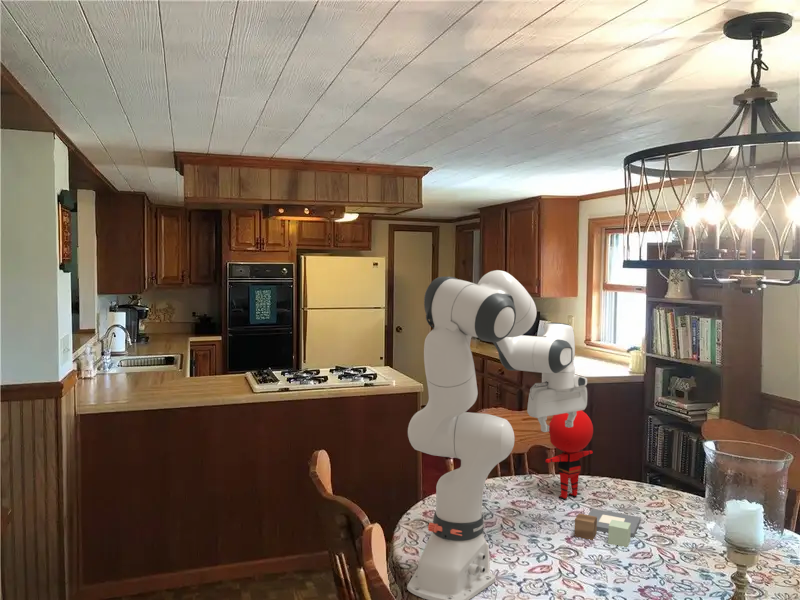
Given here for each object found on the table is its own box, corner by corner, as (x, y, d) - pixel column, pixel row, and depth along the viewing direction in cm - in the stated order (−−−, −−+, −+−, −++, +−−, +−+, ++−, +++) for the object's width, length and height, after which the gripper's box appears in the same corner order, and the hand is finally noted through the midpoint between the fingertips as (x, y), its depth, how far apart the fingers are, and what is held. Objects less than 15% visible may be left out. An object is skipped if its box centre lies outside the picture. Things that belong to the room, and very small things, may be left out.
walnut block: (592, 540, 171) (593, 522, 171) (574, 536, 173) (574, 519, 173) (596, 534, 175) (597, 516, 175) (578, 530, 178) (578, 513, 177)
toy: (575, 487, 216) (577, 400, 215) (608, 498, 204) (610, 407, 203) (531, 498, 204) (532, 406, 203) (562, 511, 192) (565, 414, 192)
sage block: (627, 547, 167) (628, 529, 166) (608, 543, 169) (608, 525, 169) (630, 541, 171) (630, 523, 171) (611, 537, 173) (611, 519, 173)
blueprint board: (633, 537, 173) (633, 533, 173) (582, 527, 180) (582, 523, 180) (640, 521, 185) (640, 516, 185) (592, 512, 192) (592, 508, 192)
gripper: (539, 385, 166) (538, 437, 166) (591, 378, 177) (590, 426, 177) (522, 382, 171) (521, 431, 172) (574, 375, 182) (573, 422, 183)
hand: (557, 429), depth 175 cm, fingers open, 8 cm apart
